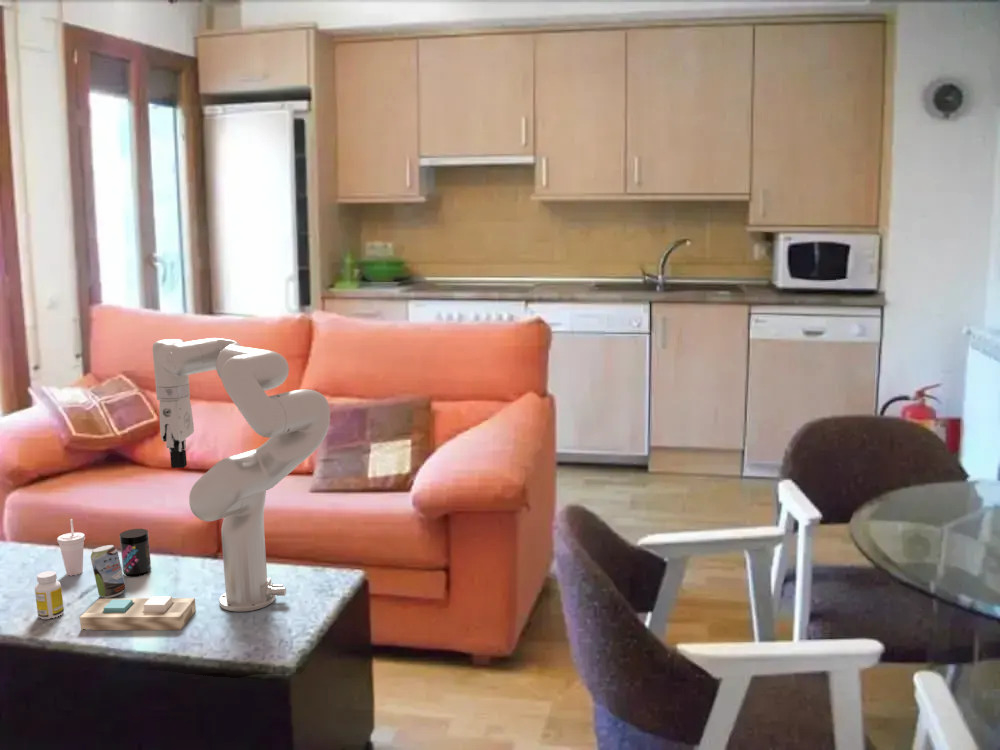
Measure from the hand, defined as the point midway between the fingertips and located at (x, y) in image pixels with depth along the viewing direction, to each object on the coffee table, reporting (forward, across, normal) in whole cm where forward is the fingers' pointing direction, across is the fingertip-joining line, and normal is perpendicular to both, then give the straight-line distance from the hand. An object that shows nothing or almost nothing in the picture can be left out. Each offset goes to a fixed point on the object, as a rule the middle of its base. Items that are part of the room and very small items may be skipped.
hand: (179, 466), depth 237 cm
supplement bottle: (+29, -19, +25) cm, 43 cm away
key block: (+29, -22, +4) cm, 37 cm away
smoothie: (+29, +6, +31) cm, 43 cm away
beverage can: (+29, -8, +16) cm, 34 cm away
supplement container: (+29, +6, +15) cm, 33 cm away
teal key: (+28, -22, +8) cm, 37 cm away
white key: (+28, -22, -1) cm, 35 cm away
